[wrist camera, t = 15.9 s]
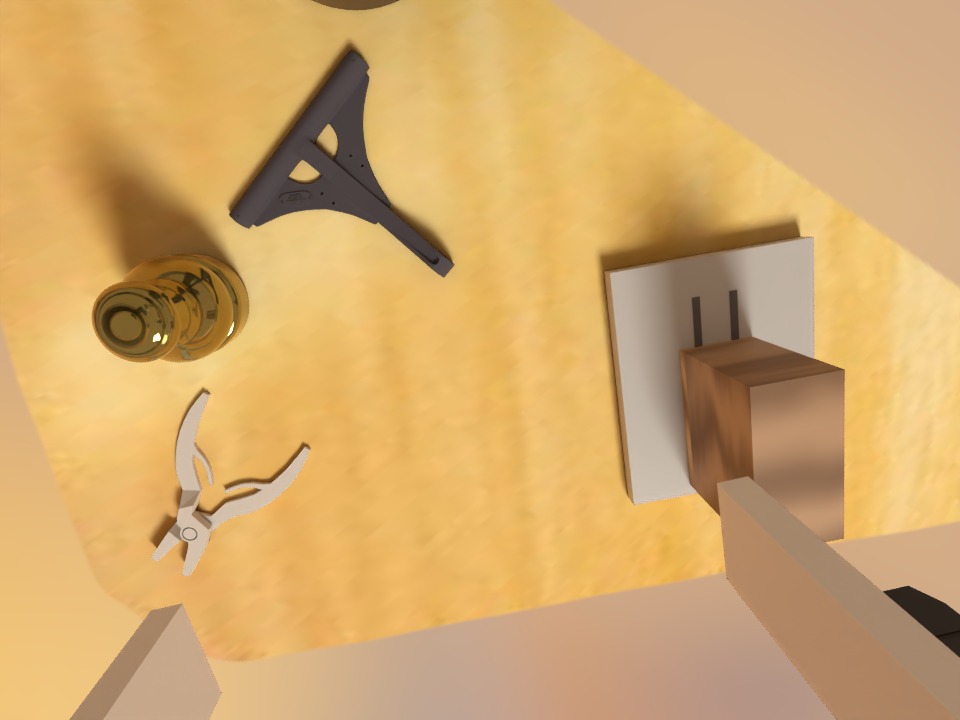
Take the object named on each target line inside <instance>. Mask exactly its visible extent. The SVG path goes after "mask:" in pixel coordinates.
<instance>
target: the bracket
mask: <svg viewBox="0 0 960 720" xmlns="http://www.w3.org/2000/svg"><path fill="white" fill-rule="evenodd" d="M368 69H369V66H368V65H367V64H366V63H365V62H364V61H363V60H362V59H361V58H360V57H359V56H358V55H357V54H356V53H355V52H354V51H352V50H350V51H349V52H348V53H347V55H346V56H345V57H344V59H343V60H342V61H341V63H340V64H339V66H338V67H337V68H336V70H335V71H334V72H333V74H332V75H331V76H330V78H329V79H328V81H327V82H326V83H325V85H324V86H323V87H322V89H321V90H320V91H319V93H318V94H317V95H316V97H315V98H314V100H313V101H312V102H311V104H310V105H309V106H308V108H307V109H306V110H305V112H304V113H303V114H302V116H301V117H300V119H299V120H298V121H297V123H296V124H295V125H294V127H293V128H292V129H291V131H290V132H289V134H288V135H287V136H286V138H285V139H284V140H283V142H282V143H281V144H280V146H279V147H278V148H277V150H276V151H275V153H274V154H273V155H272V157H271V158H270V159H269V161H268V162H267V163H266V165H265V166H264V167H263V169H262V170H261V172H260V173H259V174H258V176H257V177H256V178H255V180H254V181H253V182H252V184H251V185H250V186H249V188H248V189H247V191H246V192H245V193H244V195H243V196H242V197H241V199H240V200H239V201H238V203H237V204H236V206H235V207H234V208H233V210H232V211H231V212H230V214H229V215H230V216H231V218H232V219H233V220H235V221H236V222H237V223H239V224H240V225H242V226H244V227H246V228H250V227H251V226H252V225H253V224H254V225H255V226H260V225H262V224H264V223H266V222H268V221H271V220H273V219H275V218H277V217H280V216H283V215H286V214H289V213H293V212H297V211H303V210H314V209H329V210H334V211H339V212H343V213H347V214H351V215H354V216H357V217H359V218H362V219H364V220H366V221H368V222H371V223H373V224H377V223H378V222H379V223H380V224H381V225H382V226H383V227H384V228H386V229H387V230H388V231H389V232H390V233H391V234H393V235H394V236H395V237H396V238H397V239H398V240H399V241H401V242H402V243H403V244H404V245H405V246H406V247H407V248H409V249H410V250H411V251H412V252H413V253H414V254H415V255H417V256H418V257H419V258H420V259H421V260H422V261H423V262H424V263H426V264H427V265H428V266H429V267H430V268H431V269H433V270H434V271H435V272H436V273H438V274H439V275H441V276H442V277H445V276H446V275H447V273H448V272H449V271H450V270H451V269H452V267H453V266H454V264H453V263H452V262H451V261H450V260H449V259H448V258H447V257H446V256H444V255H443V254H442V253H441V252H440V251H439V250H437V249H436V248H435V247H434V246H433V245H432V244H430V243H429V242H428V241H427V240H426V239H424V238H423V237H422V236H421V235H420V234H419V233H417V232H416V231H415V230H414V229H413V228H412V227H410V226H409V225H408V224H407V223H406V222H405V221H403V220H402V219H401V218H400V217H399V216H398V215H396V214H395V213H394V212H393V211H392V210H391V209H390V208H389V207H390V206H391V204H390V202H389V201H388V199H387V198H386V196H385V194H384V193H383V191H382V190H381V188H380V186H379V185H378V183H377V181H376V179H375V177H374V174H373V172H372V169H371V167H370V164H369V162H368V159H367V155H366V149H365V143H364V134H363V111H364V103H365V97H366V92H367V87H368V83H369V76H368V75H367V74H366V72H367V71H368ZM327 124H330V125H331V126H332V128H333V129H334V131H335V132H336V135H337V137H338V142H339V149H338V154H337V157H336V158H335V160H334V161H333V160H332V159H331V158H330V157H328V156H327V155H326V154H325V153H324V152H323V151H322V150H321V149H320V148H319V147H318V146H317V145H316V143H315V142H316V139H317V138H318V136H319V135H320V133H321V132H322V131H323V129H324V128H325V127H326V125H327ZM350 155H352V157H350ZM301 160H304V161H306V162H307V163H308V164H310V165H311V166H312V167H313V168H315V169H316V170H317V171H318V172H319V173H321V174H322V177H321V178H320V179H319V180H317V181H315V182H313V183H310V184H300V183H297V182H294V181H292V180H291V179H289V178H288V176H289V175H290V174H291V172H292V171H293V170H294V168H295V167H296V166H297V164H298V163H299V162H300V161H301ZM362 165H364V166H363V167H362ZM322 192H323V195H322ZM333 202H335V204H333Z"/></svg>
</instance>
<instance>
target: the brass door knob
mask: <svg viewBox="0 0 960 720" xmlns="http://www.w3.org/2000/svg"><path fill="white" fill-rule="evenodd" d="M248 314H249V300H248V295H247V292H246V289H245V287H244V285H243V283H242V281H241V280H240V278H239V277H238V276H237V274H236V273H235V272H234V271H233V270H232V269H231V268H230V267H228V266H227V265H226V264H224V263H223V262H221V261H219V260H217V259H215V258H212V257H209V256H206V255H200V254H177V255H171V256H160V257H154V258H151V259H148V260H146V261H144V262H142V263H140V264H138V265H137V266H136V267H134V268H133V269H132V270H131V271H130V272H129V273H128V274H127V276H126V277H125V278H124V280H123V282H120V283H117V284H114V285H112V286H110V287H108V288H107V289H105V290H104V291H103V292H102V293H101V294H100V295H99V296H98V298H97V299H96V301H95V303H94V306H93V310H92V324H93V328H94V331H95V333H96V336H97V337H98V339H99V340H100V342H101V343H102V344H103V346H104V347H105V348H106V349H108V350H109V351H110V352H111V353H113V354H114V355H116V356H118V357H120V358H122V359H124V360H128V361H132V362H149V361H154V360H157V359H162V360H165V361H170V362H191V361H195V360H199V359H201V358H204V357H206V356H208V355H210V354H211V353H213V352H215V351H217V350H219V349H221V348H222V347H224V346H225V345H226V344H228V343H229V342H231V341H232V340H234V339H235V338H236V337H237V336H238V335H239V334H240V333H241V331H242V330H243V328H244V326H245V324H246V322H247V318H248Z"/></svg>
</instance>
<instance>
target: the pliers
mask: <svg viewBox="0 0 960 720" xmlns="http://www.w3.org/2000/svg"><path fill="white" fill-rule="evenodd" d="M210 395H211V394H210V393H208V392H206V391H205V392H203V393H202V394H201V396H200V397H199V398H198V399H197V400H196V402H195V403H194V404H193V406H192V407H191V409H190V410H189V412H188V414H187V416H186V418H185V420H184V422H183V424H182V427H181V430H180V433H179V437H178V441H177V448H176V472H177V477H178V479H179V482H180V485H181V487H182V490H183V491H182V496H181V501H180V507H179V511H178V515H177V522H176V523H175V524H174V525H173V527H172V528H171V529H170V530H169V532H168V533H167V535H166V536H165V537H164V539H163V540H162V542H161V543H160V545H159V546H158V548H157V549H156V551H155V552H154V554H153V555H152V557H151V558H152V559H153V560H155V561H156V562H157V561H158V560H160V559H161V558H162V557H163V556H164V555H165V554H166V553H167V552H168V551H169V550H171V549H172V548H173V547H174V546H175V545H176V544H177V543H178V542H179V541H180V540H182V539H183V540H184V541H186V542H188V550H187V555H186V559H185V563H184V568H183V572H182V575H185V576H190V575H191V573H192V572H193V571H194V569H195V568H196V566H197V564H198V562H199V560H200V558H201V556H202V554H203V553H204V551H205V549H206V547H207V545H208V543H209V541H210V539H209V537H210V533H211V530H215V529H216V528H217V527H218V526H219V525H220V524H221V523H223V522H225V521H227V520H229V519H231V518H233V517H235V516H240V515H244V514H249V513H252V512H254V511H256V510H258V509H261V508H262V507H264V506H266V505H267V504H269V503H270V502H272V501H273V500H274V499H276V498H277V497H278V496H279V495H280V494H282V493H283V492H284V491H285V490H286V489H287V488H288V487H289V486H290V484H291V483H292V482H293V481H294V480H295V478H296V477H297V475H298V474H299V472H300V471H301V469H302V467H303V465H304V463H305V461H306V459H307V456H308V454H309V451H310V449H311V448H309V447H307V446H305V447H304V448H303V450H302V451H301V452H300V454H299V455H298V456H297V457H296V458H295V460H294V461H293V462H292V463H291V464H290V465H289V466H288V468H287V469H286V470H285V471H284V472H283V473H281V474H280V475H279V476H278V477H277V478H276V479H275V480H273V481H272V482H256V481H250V482H242V483H239V484H236V485H233V486H231V487H229V488H227V489H225V491H224V492H225V493H228V492H230V491H233V490H235V489H239V488H242V487H254V488H257V489H261V490H259V491H258V492H256V493H254V494H250V495H247V496H244V497H241V498H237V499H233V500H229V501H227V502H226V503H225V504H224V505H223V506H221V507H220V508H219V509H218V510H217V511H216V512H215V513H214V514H209V513H204V512H199V511H195V510H196V507H197V505H198V503H199V500H200V496H201V492H202V486H201V483H200V480H199V477H198V474H197V470H196V466H195V462H194V456H196V457H197V458H198V459H199V460H201V462H202V463H203V465H204V467H205V468H206V471H207V475H208V480H209V485H213V484H214V476H213V471H212V467H211V465H210V463H209V461H208V459H207V457H206V456H205V455H204V454H203V452H202V451H201V450H200V449H199V448H198V446H197V444H196V442H195V441H196V436H197V431H198V427H199V423H200V420H201V417H202V414H203V412H204V409H205V406H206V404H207V401H208V399H209V397H210Z"/></svg>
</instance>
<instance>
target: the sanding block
mask: <svg viewBox="0 0 960 720" xmlns="http://www.w3.org/2000/svg"><path fill="white" fill-rule="evenodd" d="M680 361H681V374H682V387H683V400H684V412H685V425H686V438H687V451H688V464H689V476H690V485H691V486H692V487H693V488H694V489H695V490H696V491H697V493H698V494H699V495H700V496H701V497H702V498H703V499H704V500H705V501H706V502H707V503H708V504H709V505H710V506H711V507H712V508H713V509H714V510H715V511H716V513H717V514H718V515H719V516H720V508H719V498H718V488H717V483H720V482H725V481H729V480H734V479H738V478H743V477H747V476H748V477H749V478H751V479H752V480H753V481H754V482H755V483H756V484H758V485H759V486H760V487H761V488H762V489H763V490H765V491H766V492H767V493H768V494H769V495H770V496H772V497H773V498H774V499H775V500H776V501H777V502H779V503H780V504H781V505H782V506H783V507H784V508H786V509H787V510H788V511H789V512H790V513H791V514H793V515H794V516H795V517H796V518H797V519H798V520H800V521H801V522H802V523H803V524H804V525H805V526H807V527H808V528H809V529H810V530H811V531H812V532H814V533H815V534H816V535H817V536H818V537H819V538H821V539H822V540H823V541H824V542H828V541H834V540H839V539H844V381H845V370H844V369H841V368H838V367H836V366H833V365H830V364H827V363H825V362H822V361H819V360H816V359H813V358H811V357H808V356H805V355H802V354H800V353H797V352H794V351H791V350H788V349H786V348H783V347H780V346H777V345H774V344H772V343H769V342H766V341H763V340H761V339H758V338H755V337H749V338H743V339H738V340H733V341H727V342H722V343H717V344H711V345H706V346H700V347H695V348H690V349H684V350H680Z"/></svg>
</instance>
